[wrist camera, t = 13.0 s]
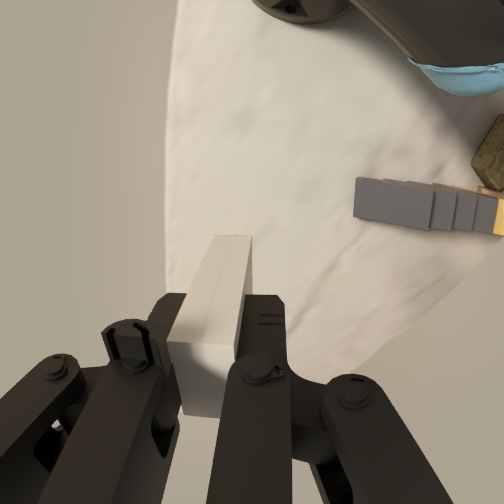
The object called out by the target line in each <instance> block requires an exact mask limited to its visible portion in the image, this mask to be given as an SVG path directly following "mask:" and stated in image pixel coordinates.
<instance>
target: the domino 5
mask: <svg viewBox="0 0 504 504" xmlns="http://www.w3.org/2000/svg"><path fill="white" fill-rule="evenodd" d="M452 187H455V186H452ZM455 188H459V187H455ZM460 189H464V188H460ZM464 190H468V189H464ZM469 191H472V190H469ZM473 192H477V191H473ZM477 193H481V192H477ZM481 194H485V193H481ZM485 195H489V194H485ZM489 196H493V195H489ZM493 197H497V196H493ZM497 198H498V199H499V201H498V207H497V213H496V218H495V223H494V228H493V232H492V233H495V234H498V235H502V236H504V198H501V197H497Z"/></svg>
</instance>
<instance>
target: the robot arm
mask: <svg viewBox="0 0 504 504" xmlns="http://www.w3.org/2000/svg"><path fill="white" fill-rule="evenodd" d="M252 1H253V2H254V3H255V4H256V5H257V6H258V7H259V8H260V9H262V10H263V11H265V12H266V13H268V14H270V15H272V16H274V17H276V18H279V19H281V20H284V21H288V22H293V23H299V24H317V23H323V22H327V21H331V20H333V19H336V18H338V17H340V16H342V15H343V14H345V13H346V12H347V11H348V10H349V9H350V8H351V7H352V6H353V5H355V6H356V7H357V8H358V9H359V10H360V11H362V12H363V13H364V14H365V15H366V16H367V17H368V18H369V19H371V20H372V21H373V22H374V23H375V24H376V25H377V26H378V27H379V28H380V29H381V30H382V31H383V32H384V33H385V34H386V35H388V36H389V37H390V38H391V39H392V40H393V41H394V42H395V44H396V45H397V46H398V47H399V48H400V49H401V50H402V51H403V52H404V53H405V54H406V57H407V59H408V60H409V61H410V62H411V63H412V64H414V65H415V66H417V67H419V68H420V69H421V70H422V71H423V73H424V74H425V75H426V76H427V77H428V78H429V79H430V80H431V81H432V82H433V84H434V85H435V86H437V87H438V88H439V89H441V90H442V91H445V92H448V93H451V94H453V95H456V96H480V95H485V94H489V93H493V92H497V91H500V90H503V89H504V0H252ZM101 334H102V337H103V341H104V344H105V346H106V349H107V352H108V355H109V358H110V361H109V363H108V365H106V366H101V367H88V368H80V366H79V364H78V361H77V359H75V358H74V357H73V356H72V355H68V354H55V355H52V356H49V357H47V358H45V359H44V360H42V361H41V362H39V363H38V364H37V365H36V366H35V367H34V368H33V369H32V370H31V371H30V372H29V373H28V374H26V375H25V377H23V378H22V379H21V380H20V381H19V382H18V383H17V384H16V385H15V386H14V387H13V388H11V389H10V390H9V391H8V392H7V393H6V394H5V395H4V396H3V397H2V398H1V399H0V504H161V501H162V498H163V493H164V490H165V485H166V482H167V478H168V474H169V470H170V466H171V462H172V458H173V454H174V450H175V447H176V443H177V439H178V435H179V431H180V430H179V429H180V424H179V421H178V417H177V416H178V412H179V409H180V406H182V409H183V413H184V415H190V416H199V417H210V418H220V423H219V429H218V435H217V441H216V447H215V453H214V458H213V464H212V470H211V476H210V482H209V483H210V484H209V488H208V494H207V500H206V504H292V459H296V460H300V461H304V462H308V463H309V465H310V468H311V471H312V473H313V476H314V479H315V482H316V484H317V487H318V490H319V493H320V495H321V498H322V501H323V503H324V504H453V502H452V500H451V499H450V497H449V495H448V493H447V492H446V490H445V488H444V487H443V485H442V483H441V482H440V480H439V478H438V477H437V475H436V474H435V472H434V470H433V469H432V467H431V465H430V464H429V462H428V460H427V459H426V457H425V455H424V454H423V452H422V451H421V449H420V447H419V446H418V444H417V443H416V441H415V439H414V438H413V436H412V435H411V433H410V431H409V430H408V428H407V427H406V425H405V424H404V422H403V420H402V419H401V417H400V416H399V414H398V413H397V411H396V410H395V408H394V406H393V405H392V403H391V402H390V400H389V399H388V397H387V396H386V394H385V393H384V391H383V389H382V388H381V387H380V386H379V385H378V384H377V383H376V382H375V381H374V380H372V379H370V378H368V377H366V376H363V375H358V374H344V375H340V376H338V377H335V378H333V379H332V380H331V381H330V382H328V383H327V384H326V385H325V384H320V383H316V382H312V381H309V380H306V379H303V378H301V377H300V376H298V375H296V374H295V373H294V372H293V371H292V370H291V368H290V367H289V365H288V362H287V351H286V328H285V308H284V303H283V302H282V301H281V299H280V298H279V297H278V295H252V235H214V236H213V238H212V240H211V243H210V245H209V247H208V249H207V251H206V253H205V255H204V258H203V260H202V262H201V264H200V266H199V268H198V271H197V273H196V275H195V277H194V279H193V281H192V284H191V286H190V288H189V290H188V293H187V294H186V293H167V294H166V295H164V296H163V297H162V298H161V299H159V300H158V301H157V303H156V305H155V306H154V308H153V310H152V312H151V313H150V315H149V317H148V320H146V321H143V320H139V319H125V320H122V321H118V322H115V323H113V324H111V325H110V326H108V327H106V328H105V329H104V330H103V331H102V332H101ZM56 420H58V421H59V423H60V425H59V426H58V427H56V428H52V426H51V425H52V424H53V423H54V422H55V421H56Z"/></svg>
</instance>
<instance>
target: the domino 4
mask: <svg viewBox="0 0 504 504" xmlns="http://www.w3.org/2000/svg"><path fill="white" fill-rule="evenodd" d="M433 185H435V186H441V187H446V188H451V189H456V190H462V191H466V192H471V193H476V195H477V201H476V208H475V214H474V220H473V226H472V230H474V231H478V232H482V233H486V234H490V235H492V232H493V228H494V223H495V218H496V213H497V207H498V201H499V199H498V198H497V197H493V196H489V195H485V194H481V193H477V192H473V191H469V190H464V189H460V188H455V187H451V186H446V185H441V184H436V183H433Z"/></svg>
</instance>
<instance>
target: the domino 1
mask: <svg viewBox="0 0 504 504" xmlns="http://www.w3.org/2000/svg"><path fill="white" fill-rule="evenodd" d="M433 193H434V190H433V189H431V188H425V187H420V186H414V185H408V184H402V183H396V182H390V181H384V180H377V179H370V178H363V177H358V178H356V184H355V199H354V211H353V217H357V218H363V219H368V220H374V221H380V222H385V223H390V224H396V225H401V226H406V227H411V228H417V229H422V230H427V231H428V227H429V221H430V215H431V208H432V201H433Z"/></svg>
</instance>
